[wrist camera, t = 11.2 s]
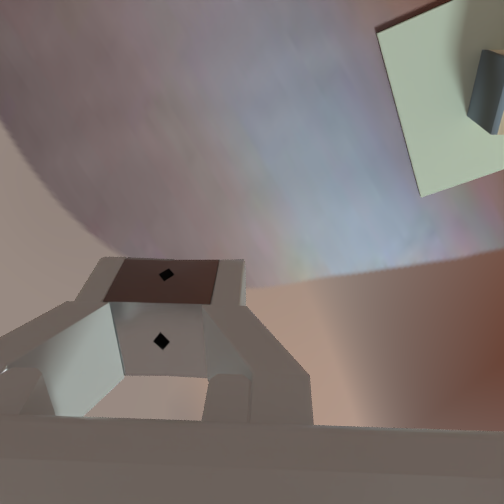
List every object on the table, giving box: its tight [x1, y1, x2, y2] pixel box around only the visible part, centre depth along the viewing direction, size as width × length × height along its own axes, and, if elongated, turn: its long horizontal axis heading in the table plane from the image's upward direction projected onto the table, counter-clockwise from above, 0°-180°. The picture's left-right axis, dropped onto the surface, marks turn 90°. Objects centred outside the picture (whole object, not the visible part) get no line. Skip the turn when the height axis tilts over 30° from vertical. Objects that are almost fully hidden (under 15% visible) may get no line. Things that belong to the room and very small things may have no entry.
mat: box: [376, 0, 504, 197], centre depth 40 cm, size 16×16×1 cm
